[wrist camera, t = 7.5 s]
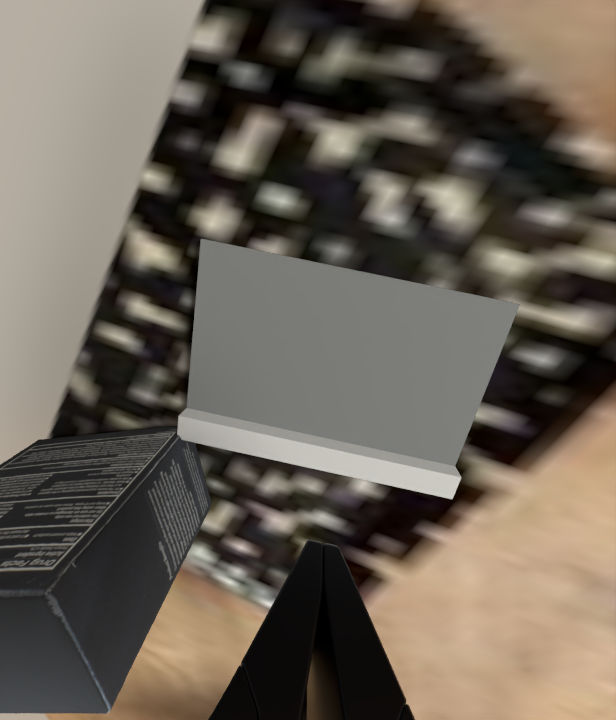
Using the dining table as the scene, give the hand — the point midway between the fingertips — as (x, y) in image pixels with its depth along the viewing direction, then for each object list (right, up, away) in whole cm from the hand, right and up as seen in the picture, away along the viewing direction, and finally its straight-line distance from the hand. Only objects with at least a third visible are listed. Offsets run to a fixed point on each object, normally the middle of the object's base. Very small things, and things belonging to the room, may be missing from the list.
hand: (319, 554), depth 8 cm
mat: (+1, +5, +9) cm, 11 cm away
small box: (-12, -2, +13) cm, 18 cm away
